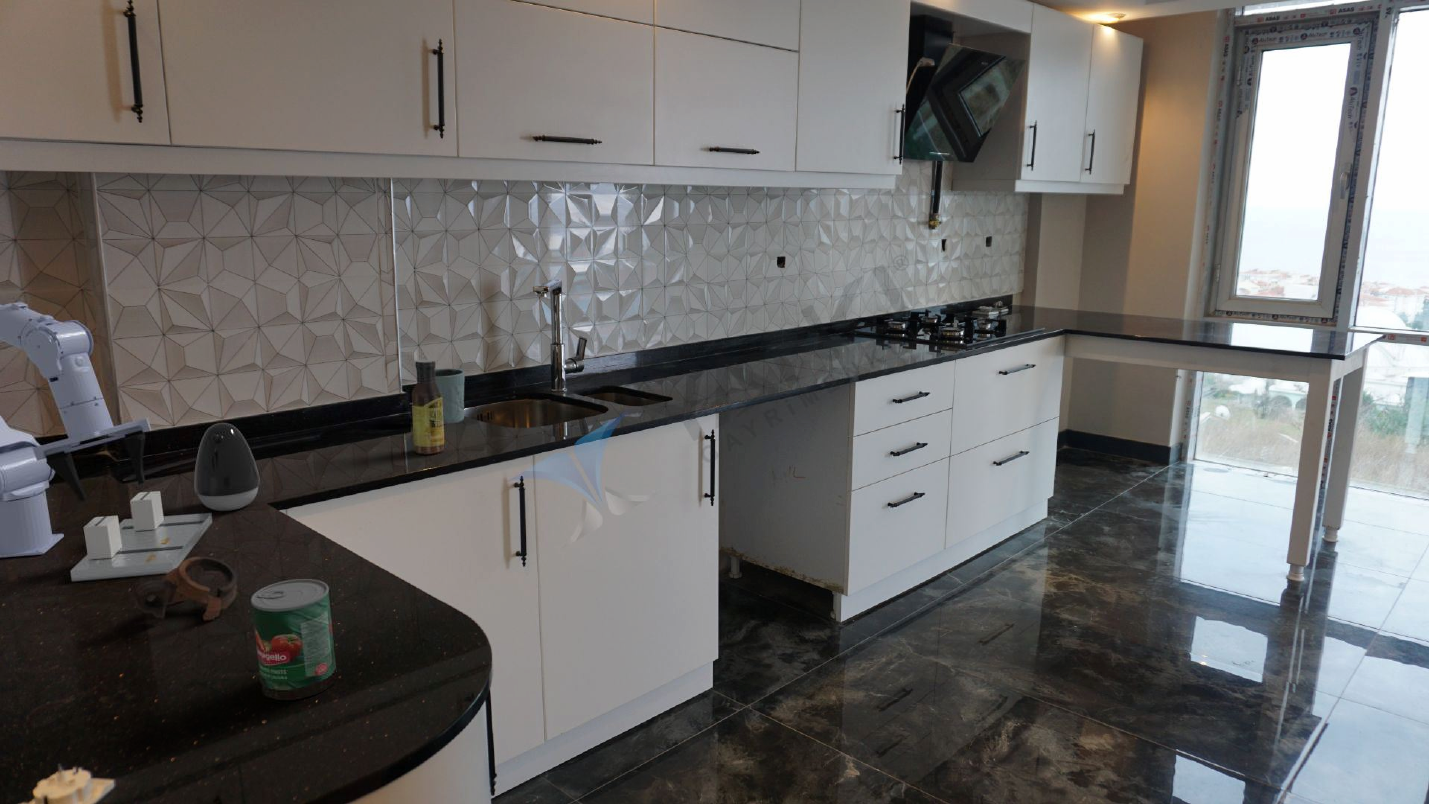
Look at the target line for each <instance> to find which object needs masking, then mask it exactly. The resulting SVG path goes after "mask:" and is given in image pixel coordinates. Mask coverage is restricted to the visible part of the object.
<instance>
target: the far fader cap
mask: <svg viewBox="0 0 1429 804" xmlns="http://www.w3.org/2000/svg"><path fill="white" fill-rule="evenodd" d="M129 502H130V511H131V517H132V518H131V519H133V526H134V531H141V530H154V529H156V528H157V527H158V526H159V525H160V524H161V523H162V522H163V521H164V518H163V517H164V512H163V511H164V510H163V505H162V497H161V491H160V490H158V491H144V492H142V491H141V492H138V493H137V494H136V495H135V496H134V497H133V498H131V500H129Z"/></svg>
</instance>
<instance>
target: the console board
mask: <svg viewBox="0 0 1429 804" xmlns="http://www.w3.org/2000/svg"><path fill="white" fill-rule="evenodd" d="M163 518H164V521H163V522H162V523H161V524H160V525H159V526H158V527H157V528H156V529H154V530H141V531H134V526H133V519H132V518H124V519H123V520H122V521H121V522H119V528H120V535H121V542H122V548H121V549H120V550H119V551H118V552H117V553H116V554H115V555H114V556H113V557H112V558H102V559H90V560H89V559H88V553H87V554H86V555H85V556H84V557H83V558H82V559H81V560H79V562H78V563H77V564H76V565H75V566H74V567H73V568H72V569H71V570H70V577H71V578H70V579H71V582H79V581H81V582H83V581H92V580H103V579H104V580H105V579H114V578H115V579H116V578H127V577H139V576H140V577H141V576H149V575H160V574H162V575H163V574H168V573H169V572H170V571H171V570H173V569H174V568H176V567H179V566H180V564H181V563H182V562H183V561H185V558H187V556H188V555H189V553H190V551H191V550H192V549H193V548H194V547H195V546H196V544H197V543H198V541H199V540H200V539H201V537H202V536H203V535H204V533H205V532H206V531H207V530H208V529H209V527H210V526H211V525H212V523H213V516H212V512H208V513H207V512H206V513H193V514H192V513H191V514H180V515H167V516H164V515H163Z"/></svg>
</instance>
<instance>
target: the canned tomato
mask: <svg viewBox="0 0 1429 804" xmlns="http://www.w3.org/2000/svg"><path fill="white" fill-rule="evenodd" d="M329 589H330V588H329V585H328V584H327V583H325V582H324V581H321V580H318V579H311V578H309V579H308V578H300V579H299V578H296V579H288V580H283V581H278V582H275V583H272V584H269V585H267V586H265V587H262V588H260V589H259V590H257V591H256V592H254V593H253V594H252V596H251V598H250V603H251V608H252V618H253V625H254V634H255V635H254V636H255V644H256V653H257V659H258V660H257V662H258V669H259V678H260V684H261V683H262V684H263V686H264V687H268V688H270V689H275V690H292V689H293V690H294V689H298V688H301V687H307V686H309V685H312V684H315V683H317V682H321V681H323V680H324V679H327V678H328V677H329V676H331V675H332V673H334V671H335V669H336V670H337V666H336V653H335V645H334V643H335V642H334V634H333V626H332V625H333V621H332V614H331V605H330V603H331V602H330V594H329Z"/></svg>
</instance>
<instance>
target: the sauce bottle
mask: <svg viewBox="0 0 1429 804" xmlns="http://www.w3.org/2000/svg"><path fill="white" fill-rule="evenodd" d="M415 368H416V384H415V386H414V388H413V389H412V393H411V398H412V399H411V400H412V404H411V410H412V411H411V412H412V428H413V429H412V430H413V431H412V433H413V444H414V450H415V453H417V454H419V455H433V454H438V453H442V452H443V450H444V449H445V448H444V445H445V430H444V429H445V427H444V424H443V404H442V395H441V393H440V390H439V388H438V385H437V383H436V378H435V369H436V361H435V360H434V359H420V360H419V359H418V360H415Z"/></svg>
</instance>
